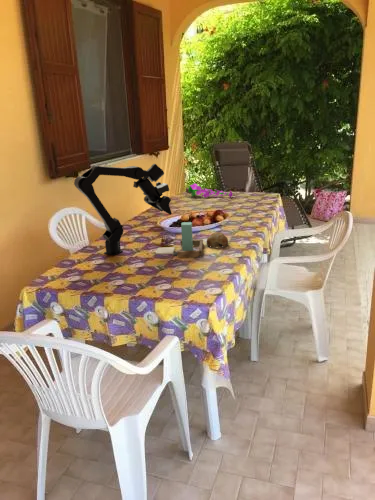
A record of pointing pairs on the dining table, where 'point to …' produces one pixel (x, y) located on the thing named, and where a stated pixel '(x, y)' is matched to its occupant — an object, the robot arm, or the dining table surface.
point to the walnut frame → (192, 253)
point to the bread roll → (217, 240)
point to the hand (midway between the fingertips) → (166, 212)
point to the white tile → (165, 250)
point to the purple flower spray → (204, 191)
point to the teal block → (187, 236)
